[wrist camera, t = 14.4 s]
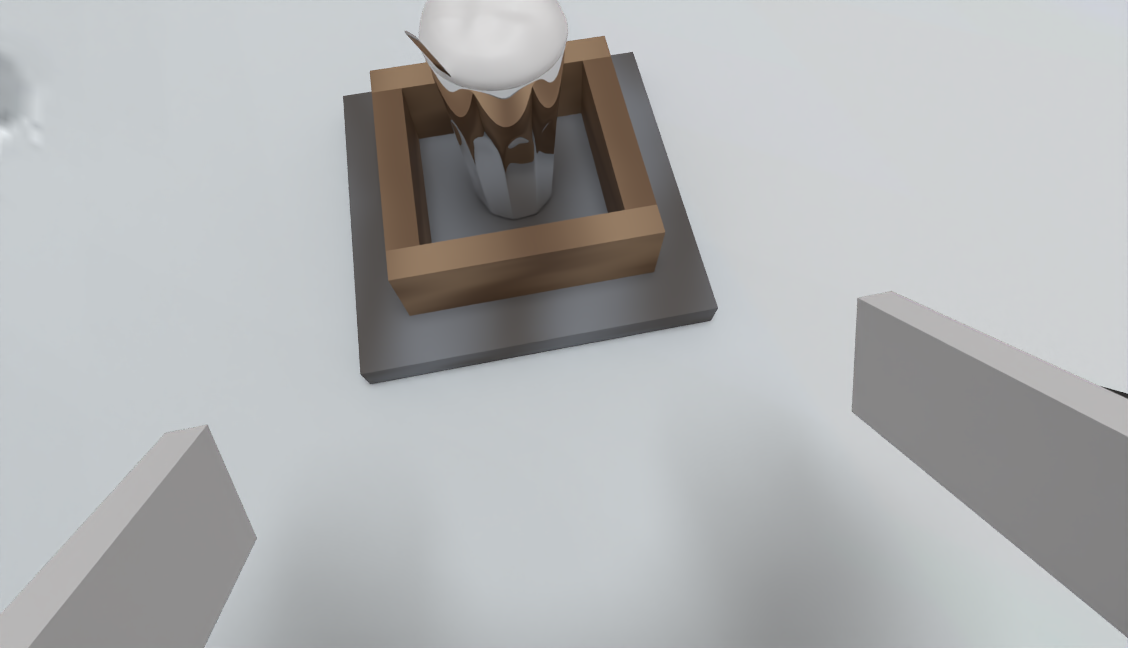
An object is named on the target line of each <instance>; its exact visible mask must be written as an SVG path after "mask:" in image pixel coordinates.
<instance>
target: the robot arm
mask: <svg viewBox="0 0 1128 648" xmlns="http://www.w3.org/2000/svg"><path fill="white" fill-rule="evenodd" d="M852 412H853V413H854V414H855V415H856V416H858V417H859V418H860V419H861V420H863V421H864V422H865V423H866V424H867V425H869V426H870V427H871V428H872V429H874V430H875V431H876V432H877V433H878V434H880V435H881V436H882V437H883V438H885V439H886V440H887V441H888V442H889V443H891V444H892V445H893V446H894V447H895V448H897V449H898V450H899V451H900V452H902V453H903V454H904V455H905V456H906V457H908V458H909V459H910V460H911V461H913V462H914V463H915V464H916V465H917V466H919V467H920V468H921V469H922V470H924V471H925V472H926V473H927V474H928V475H930V476H931V477H932V478H933V479H935V480H936V481H937V482H938V483H939V484H941V485H942V486H943V487H944V488H946V489H947V490H948V491H949V492H950V493H952V494H953V495H954V496H955V497H957V498H958V499H959V500H960V501H961V502H963V503H964V504H965V505H966V506H967V507H969V508H970V509H971V510H972V511H974V512H975V513H976V514H977V515H978V516H980V517H981V518H982V519H983V520H985V521H986V522H987V523H988V524H989V525H991V526H992V527H993V528H994V529H996V530H997V531H998V532H999V533H1000V534H1002V535H1003V536H1004V537H1005V538H1007V539H1008V540H1009V541H1010V542H1011V543H1013V544H1014V545H1015V546H1016V547H1018V548H1019V549H1020V550H1021V551H1022V552H1024V553H1025V554H1026V555H1027V556H1028V557H1030V558H1031V559H1032V560H1033V561H1035V562H1036V563H1037V564H1038V565H1039V566H1041V567H1042V568H1043V569H1044V570H1046V571H1047V572H1048V573H1049V574H1050V575H1052V576H1053V577H1054V578H1055V579H1057V580H1058V581H1059V582H1060V583H1061V584H1063V585H1064V586H1065V587H1066V588H1068V589H1069V590H1070V591H1071V592H1072V593H1074V594H1075V595H1076V596H1077V597H1079V598H1080V599H1081V600H1082V601H1083V602H1085V603H1086V604H1087V605H1088V606H1090V607H1091V608H1092V609H1093V610H1094V611H1096V612H1097V613H1098V614H1099V615H1100V616H1102V617H1103V618H1104V619H1105V620H1107V621H1108V622H1109V623H1110V624H1111V625H1113V626H1114V627H1115V628H1116V629H1118V630H1119V631H1120V632H1121V633H1122V634H1124V635H1125V636H1126V637H1127V638H1128V394H1127V393H1123V392H1119V391H1116V390H1112V389H1109V388H1105V387H1101V386H1098V385H1096V384H1094V383H1092V382H1090V381H1088V380H1085V379H1083V378H1081V377H1079V376H1077V375H1074V374H1072V373H1070V372H1068V371H1066V370H1063V369H1061V368H1059V367H1057V366H1055V365H1052V364H1050V363H1048V362H1046V361H1044V360H1042V359H1039V358H1037V357H1035V356H1033V355H1031V354H1028V353H1026V352H1024V351H1022V350H1020V349H1017V348H1015V347H1013V346H1011V345H1009V344H1006V343H1004V342H1002V341H1000V340H998V339H996V338H993V337H991V336H989V335H987V334H985V333H982V332H980V331H978V330H976V329H974V328H971V327H969V326H967V325H965V324H963V323H960V322H958V321H956V320H954V319H952V318H950V317H947V316H945V315H943V314H941V313H939V312H936V311H934V310H932V309H930V308H928V307H925V306H923V305H921V304H919V303H917V302H914V301H912V300H910V299H908V298H906V297H904V296H901V295H899V294H897V293H895V292H893V291H890V292H885V293H880V294H875V295H869V296H864V297H859V298H858V299H857V318H856V338H855V357H854V377H853V396H852ZM256 539H257V537H256V535H255V533H254V530H253V528H252V526H251V523H250V521H249V519H248V517H247V514H246V512H245V510H244V507H243V505H242V503H241V500H240V498H239V496H238V494H237V491H236V489H235V487H234V484H233V482H232V480H231V478H230V475H229V473H228V471H227V468H226V466H225V464H224V461H223V459H222V457H221V455H220V452H219V450H218V448H217V445H216V443H215V441H214V439H213V436H212V434H211V432H210V429H209V427H208V425H203V426H198V427H193V428H188V429H182V430H177V431H172V432H167V433H165V434H164V435H163V436H162V437H161V438H160V439H159V440H158V441H157V443H156V444H155V445H154V446H153V447H152V448H151V449H150V450H149V451H148V452H147V454H146V455H145V456H144V457H143V458H142V459H141V460H140V461H139V462H138V463H137V465H136V466H135V467H134V468H133V469H132V470H131V471H130V472H129V473H128V474H127V476H126V477H125V478H124V479H123V480H122V481H121V482H120V483H119V484H118V485H117V487H116V488H115V489H114V490H113V491H112V492H111V493H110V494H109V495H108V496H107V498H106V499H105V500H104V501H103V502H102V503H101V504H100V505H99V506H98V507H97V509H96V510H95V511H94V512H93V513H92V514H91V515H90V516H89V517H88V518H87V520H86V521H85V522H84V523H83V524H82V525H81V526H80V527H79V528H78V529H77V531H76V532H75V533H74V534H73V535H72V536H71V537H70V538H69V539H68V540H67V542H66V543H65V544H64V545H63V546H62V547H61V548H60V549H59V550H58V551H57V553H56V554H55V555H54V556H53V557H52V558H51V559H50V560H49V561H48V562H47V564H46V565H45V566H44V567H43V568H42V569H41V570H40V571H39V572H38V573H37V575H36V576H35V577H34V578H33V579H32V580H31V581H30V582H29V583H28V584H27V586H26V587H25V588H24V589H23V590H22V591H21V592H20V593H19V594H18V595H17V597H16V598H15V599H14V600H13V601H12V602H11V603H10V604H9V605H8V606H7V608H6V609H5V610H4V611H3V612H2V613H1V614H0V648H204V647H205V645H206V643H207V640H208V638H209V636H210V634H211V632H212V630H213V628H214V626H215V624H216V622H217V620H218V618H219V616H220V614H221V612H222V609H223V607H224V605H225V603H226V601H227V599H228V597H229V595H230V593H231V591H232V589H233V587H234V585H235V583H236V580H237V578H238V576H239V574H240V572H241V570H242V568H243V566H244V564H245V562H246V560H247V558H248V556H249V554H250V551H251V549H252V547H253V545H254V543H255V541H256Z"/></svg>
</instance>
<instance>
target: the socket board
mask: <svg viewBox="0 0 1128 648" xmlns="http://www.w3.org/2000/svg"><path fill="white" fill-rule="evenodd" d="M370 79H371V90H372V92H367V93H360V94H354V95H347V96H343V102H344V118H345V134H346V150H347V166H348V182H349V198H350V214H351V230H352V246H353V262H354V278H355V294H356V310H357V326H358V342H359V359H360V374H361V375H362V376H363V377H364V378H365V379H366V380H367V381H368V382H369V383H370V384H373V383H378V382H383V381H389V380H394V379H399V378H405V377H410V376H415V375H421V374H426V373H431V372H437V371H442V370H447V369H453V368H458V367H464V366H469V365H474V364H480V363H485V362H490V361H496V360H501V359H506V358H512V357H517V356H522V355H528V354H533V353H538V352H544V351H549V350H554V349H560V348H565V347H571V346H576V345H581V344H587V343H592V342H597V341H603V340H608V339H613V338H619V337H624V336H629V335H635V334H640V333H645V332H651V331H656V330H662V329H667V328H672V327H678V326H683V325H688V324H694V323H699V322H704V321H710V320H711V319H712V318H713V316H714V314H715V312H716V310H717V309H718V307H717V304H716V301H715V298H714V295H713V292H712V289H711V286H710V283H709V280H708V277H707V274H706V271H705V268H704V265H703V262H702V259H701V256H700V253H699V250H698V247H697V244H696V241H695V238H694V235H693V232H692V229H691V226H690V223H689V220H688V217H687V214H686V211H685V208H684V205H683V202H682V199H681V196H680V193H679V189H678V186H677V183H676V180H675V177H674V174H673V171H672V168H671V165H670V162H669V159H668V156H667V153H666V150H665V147H664V144H663V141H662V138H661V135H660V132H659V129H658V126H657V123H656V120H655V117H654V114H653V111H652V108H651V105H650V102H649V99H648V96H647V93H646V90H645V87H644V84H643V81H642V78H641V75H640V72H639V69H638V66H637V63H636V60H635V57H634V54H633V52H630V53H623V54H617V55H610V52H609V49H608V45H607V42H606V39H605V36H600V37H593V38H587V39H580V40H573V41H567V42H566V50H565V59H564V67H563V76H562V84H561V93H560V100H559V107H558V115H557V125H556V138H555V151H554V166H553V180H552V194H551V198H550V199H549V200H548V201H547V202H546V204H545V205H544V206H543V207H542V208H541V209H540V210H539V212H538V213H537V214H534V215H530V216H526V217H523V218H519V219H516V220H512V219H508V218H505V217H501V216H498V215H494V214H491V213H490V212H489V210H488V209H487V208H486V206H485V205H484V204H483V203H482V201H481V200H480V199H479V198H478V196H477V193H476V191H475V188H474V185H473V182H472V180H471V177H470V174H469V172H468V169H467V166H466V163H465V161H464V158H463V155H462V152H461V150H460V147H459V144H458V141H457V139H456V136H455V133H454V130H453V128H452V125H451V122H450V119H449V116H448V114H447V111H446V109H445V106H444V104H443V101H442V99H441V96H440V94H439V92H438V89H437V87H436V84H435V82H434V79H433V77H432V74H431V72H430V69H429V67H428V65H427V62H426V63H420V64H413V65H406V66H399V67H393V68H386V69H379V70H373V71H370Z"/></svg>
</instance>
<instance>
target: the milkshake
mask: <svg viewBox="0 0 1128 648" xmlns="http://www.w3.org/2000/svg"><path fill="white" fill-rule="evenodd" d="M405 33H406V34H407V35H408V37H409V38H410V39H411V40H412V41H413V42H414V43H415V44H416V45H417V46H418V48H419V49H420V50H421V51H422V53H423V55H424V57H425V60H426V62H427V65H428V67H429V69H430V72H431V74H432V77H433V79H434V82H435V84H436V87H437V89H438V92H439V94H440V96H441V99H442V101H443V104H444V106H445V109H446V111H447V114H448V116H449V119H450V122H451V125H452V128H453V130H454V133H455V136H456V139H457V141H458V144H459V147H460V150H461V152H462V155H463V158H464V161H465V163H466V166H467V169H468V172H469V174H470V177H471V180H472V182H473V185H474V188H475V191H476V193H477V196H478V198H479V199H480V200H481V201H482V203H483V204H484V205H485V206H486V208H487V209H488V210H489V212H490V213H491V214H494V215H498V216H501V217H505V218H508V219H512V220H516V219H519V218H523V217H526V216H530V215H534V214H537V213H538V212H539V210H540V209H541V208H542V207H543V206H544V205H545V204H546V202H547V201H548V200H549V199H550V198H551V194H552V180H553V166H554V151H555V138H556V125H557V115H558V107H559V100H560V93H561V84H562V76H563V67H564V59H565V50H566V41H567V36H568V24H567V20H566V17H565V15H564V13H563V11H562V9H561V7H560V5H559V3H558V1H557V0H427V1H426V3H425V6H424V8H423V11H422V15H421V19H420V26H419V39H418V38H417V37H416V36H414V35H413V34H411V33H409V32H407V31H405Z"/></svg>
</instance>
